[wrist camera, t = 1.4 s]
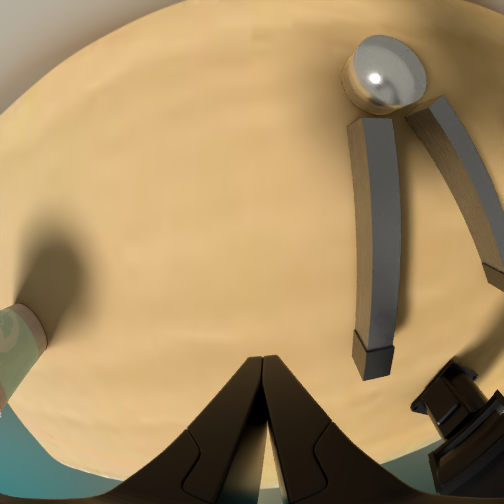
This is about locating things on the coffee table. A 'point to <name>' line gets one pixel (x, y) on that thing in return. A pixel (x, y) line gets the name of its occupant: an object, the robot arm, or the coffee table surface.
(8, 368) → the coffee cup
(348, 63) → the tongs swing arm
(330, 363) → the coffee table surface
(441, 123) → the tongs fixed arm
